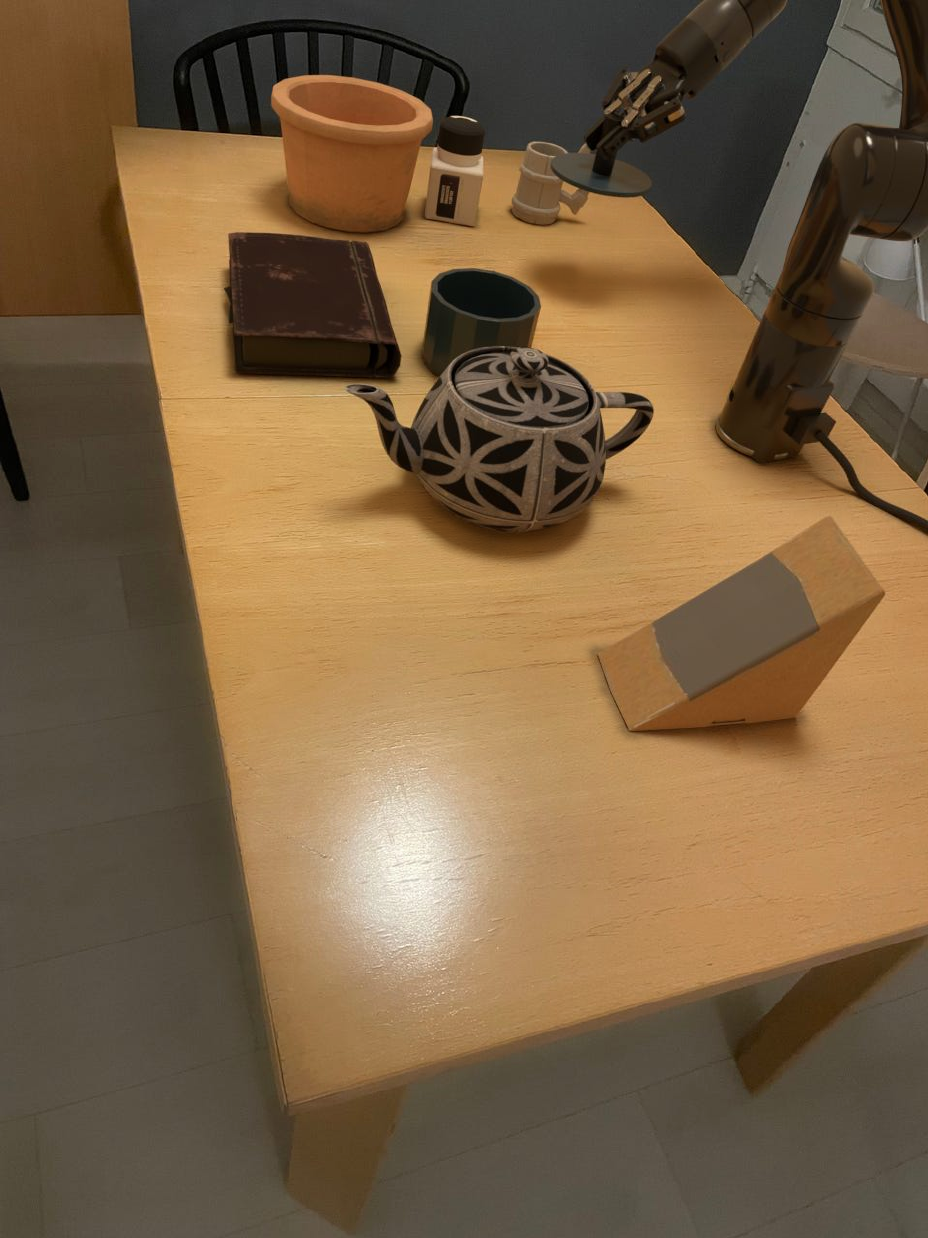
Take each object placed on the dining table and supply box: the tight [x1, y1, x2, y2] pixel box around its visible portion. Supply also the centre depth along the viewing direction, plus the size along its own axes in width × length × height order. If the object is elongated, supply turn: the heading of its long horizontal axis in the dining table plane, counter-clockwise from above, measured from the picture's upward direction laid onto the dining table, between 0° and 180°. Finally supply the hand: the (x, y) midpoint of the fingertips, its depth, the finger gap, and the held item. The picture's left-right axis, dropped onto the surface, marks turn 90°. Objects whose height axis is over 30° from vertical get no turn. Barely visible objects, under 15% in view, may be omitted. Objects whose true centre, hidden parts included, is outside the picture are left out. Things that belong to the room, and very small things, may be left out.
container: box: [424, 115, 486, 227], centre depth 130 cm, size 8×8×13 cm
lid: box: [550, 114, 653, 199], centre depth 112 cm, size 13×13×8 cm
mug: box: [511, 141, 591, 226], centre depth 135 cm, size 8×12×12 cm, turn 92°
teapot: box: [343, 346, 655, 533], centre depth 82 cm, size 19×31×15 cm, turn 106°
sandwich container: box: [597, 515, 886, 732], centre depth 68 cm, size 9×15×15 cm, turn 102°
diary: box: [223, 231, 402, 379], centre depth 103 cm, size 19×25×5 cm
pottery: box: [270, 74, 434, 234], centre depth 124 cm, size 22×22×14 cm
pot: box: [421, 267, 542, 378], centre depth 101 cm, size 12×12×8 cm
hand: (594, 148), depth 111 cm, fingers closed on lid, 2 cm apart
